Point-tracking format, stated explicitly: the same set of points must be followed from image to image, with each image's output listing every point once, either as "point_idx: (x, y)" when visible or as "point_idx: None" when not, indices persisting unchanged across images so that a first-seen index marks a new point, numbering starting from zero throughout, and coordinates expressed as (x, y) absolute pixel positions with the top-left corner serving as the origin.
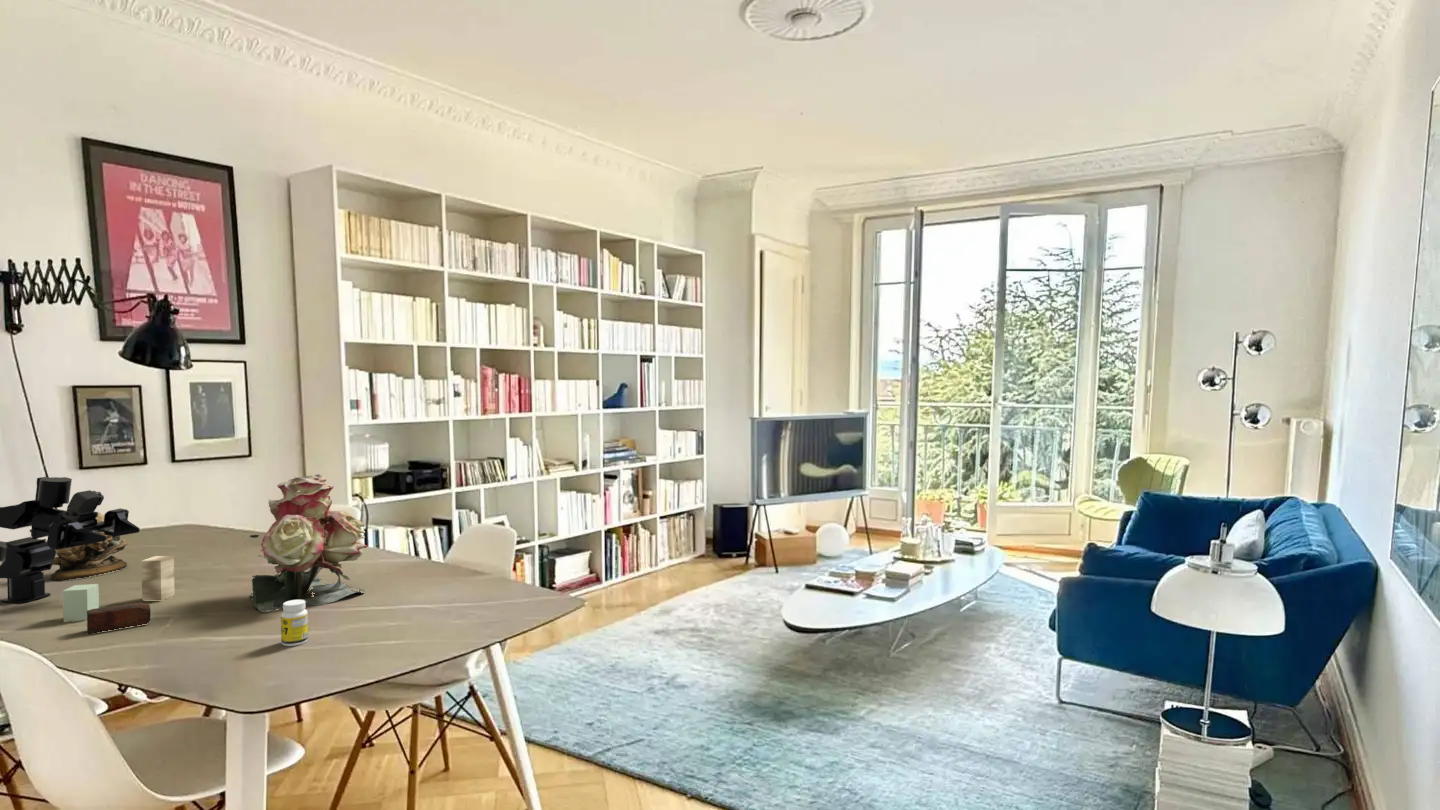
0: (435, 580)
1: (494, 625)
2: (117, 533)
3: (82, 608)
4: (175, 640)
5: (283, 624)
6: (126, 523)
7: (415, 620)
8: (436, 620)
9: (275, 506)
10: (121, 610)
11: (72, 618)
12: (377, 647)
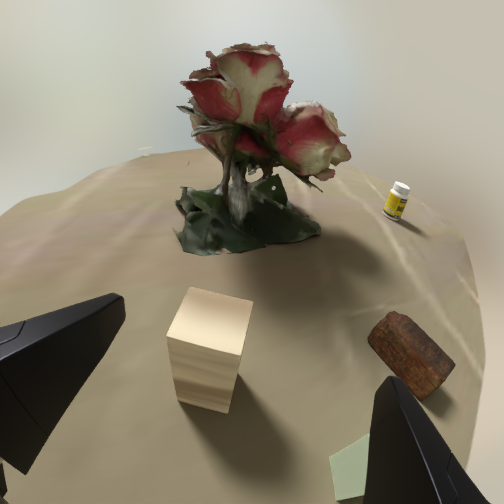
0: (216, 159)
1: None
2: (32, 444)
3: None
4: (418, 281)
5: (405, 204)
6: (43, 342)
7: None
8: None
9: (238, 89)
10: (425, 333)
11: None
12: (383, 191)
